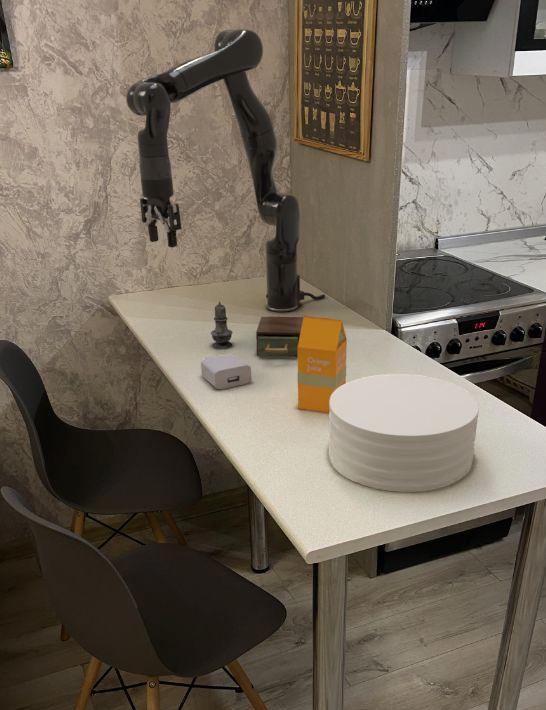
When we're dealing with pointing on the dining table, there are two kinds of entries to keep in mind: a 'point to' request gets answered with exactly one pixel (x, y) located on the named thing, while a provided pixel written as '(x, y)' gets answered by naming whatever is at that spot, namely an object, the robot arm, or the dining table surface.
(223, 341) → the salt shaker
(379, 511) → the dining table surface
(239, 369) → the charger
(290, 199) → the robot arm
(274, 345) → the drawer
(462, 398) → the plate stack
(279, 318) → the cabinet
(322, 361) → the orange juice
